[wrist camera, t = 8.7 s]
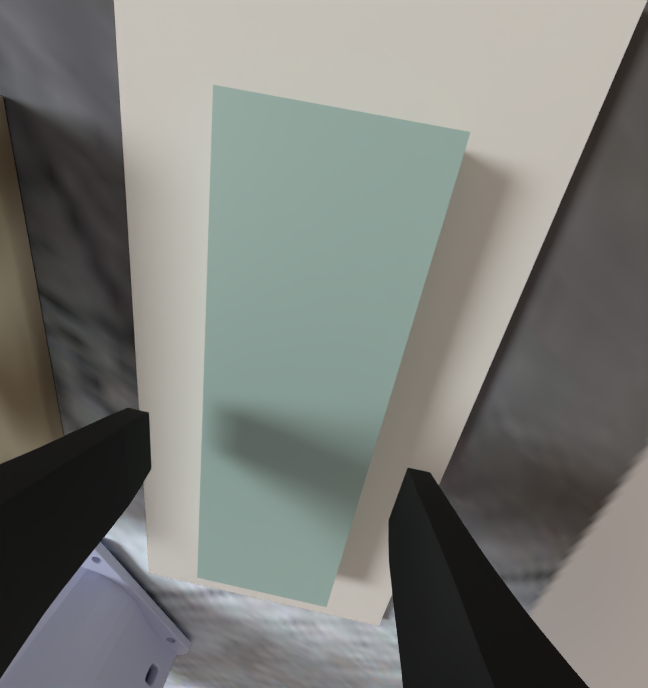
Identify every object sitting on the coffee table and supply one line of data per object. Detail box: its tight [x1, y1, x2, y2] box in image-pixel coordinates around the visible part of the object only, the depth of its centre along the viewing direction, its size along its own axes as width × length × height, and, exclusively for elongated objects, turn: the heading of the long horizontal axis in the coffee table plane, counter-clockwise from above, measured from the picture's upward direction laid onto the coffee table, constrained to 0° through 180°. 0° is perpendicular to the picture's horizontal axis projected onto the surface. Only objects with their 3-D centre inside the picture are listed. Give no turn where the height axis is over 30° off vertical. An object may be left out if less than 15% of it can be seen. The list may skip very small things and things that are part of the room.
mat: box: [114, 0, 647, 626], centre depth 12 cm, size 24×12×1 cm, turn 170°
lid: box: [197, 85, 470, 607], centre depth 11 cm, size 17×6×2 cm, turn 170°
